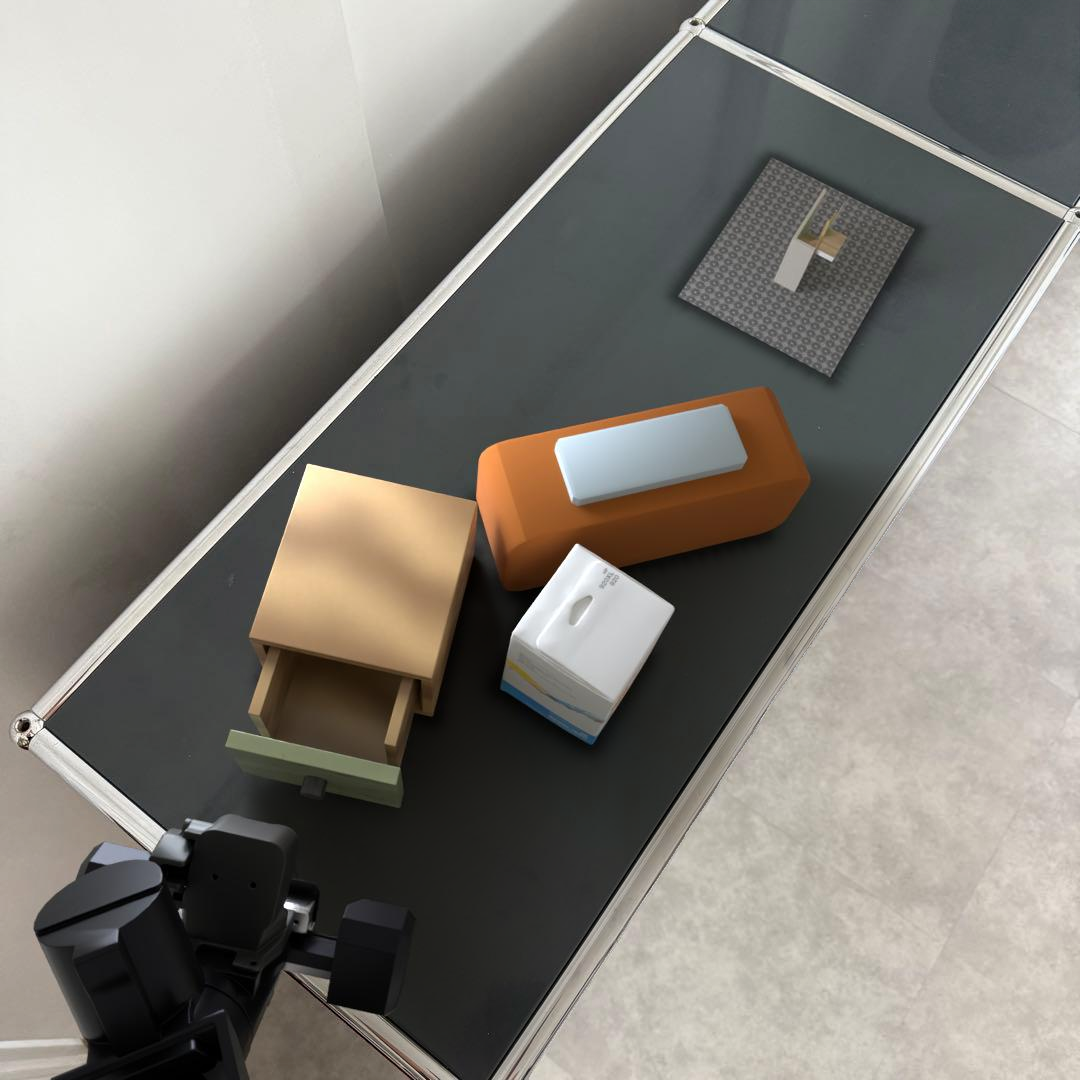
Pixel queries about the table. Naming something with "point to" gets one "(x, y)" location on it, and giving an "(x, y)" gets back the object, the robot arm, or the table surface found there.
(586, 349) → the table surface
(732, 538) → the alarm clock
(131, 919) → the robot arm
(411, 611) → the cabinet
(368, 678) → the drawer
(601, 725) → the ink box
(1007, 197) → the table surface
